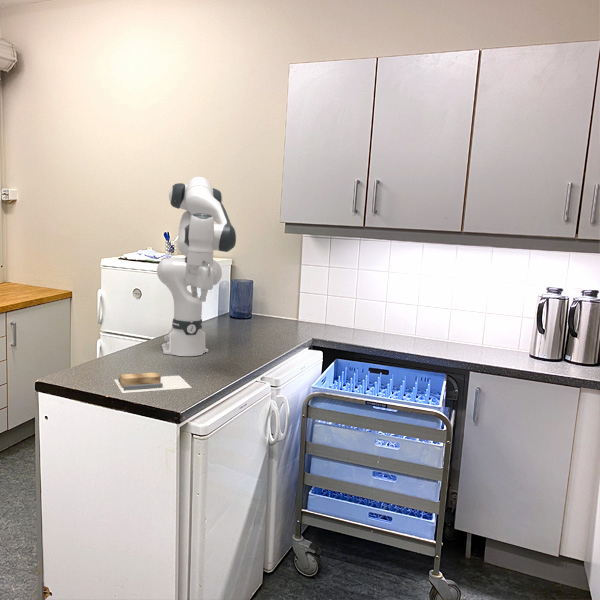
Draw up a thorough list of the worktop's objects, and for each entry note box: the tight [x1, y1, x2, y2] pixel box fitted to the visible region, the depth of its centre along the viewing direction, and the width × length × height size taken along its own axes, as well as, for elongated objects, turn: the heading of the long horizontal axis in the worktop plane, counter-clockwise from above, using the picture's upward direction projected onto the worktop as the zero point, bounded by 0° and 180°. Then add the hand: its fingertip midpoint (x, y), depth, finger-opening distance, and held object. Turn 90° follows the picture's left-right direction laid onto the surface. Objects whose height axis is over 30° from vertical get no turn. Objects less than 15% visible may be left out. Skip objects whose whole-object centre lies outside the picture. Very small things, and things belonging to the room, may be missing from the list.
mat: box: [113, 375, 193, 394], centre depth 185 cm, size 15×22×2 cm
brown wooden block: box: [119, 371, 162, 388], centre depth 183 cm, size 12×5×3 cm, turn 118°
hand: (198, 299), depth 199 cm, fingers open, 8 cm apart
